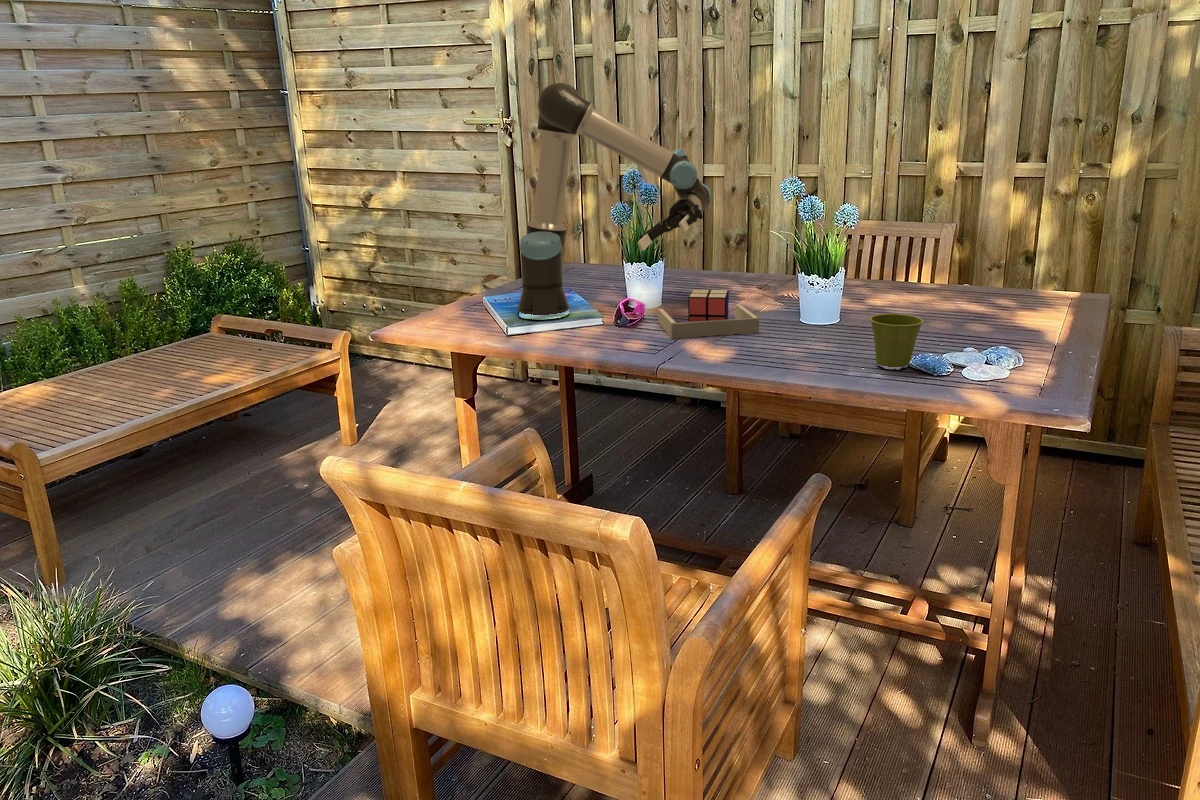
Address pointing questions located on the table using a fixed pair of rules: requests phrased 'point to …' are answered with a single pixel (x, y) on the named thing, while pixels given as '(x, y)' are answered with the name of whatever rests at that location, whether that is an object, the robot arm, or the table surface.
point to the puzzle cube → (708, 305)
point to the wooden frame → (710, 325)
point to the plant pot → (895, 338)
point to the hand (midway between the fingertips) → (660, 237)
